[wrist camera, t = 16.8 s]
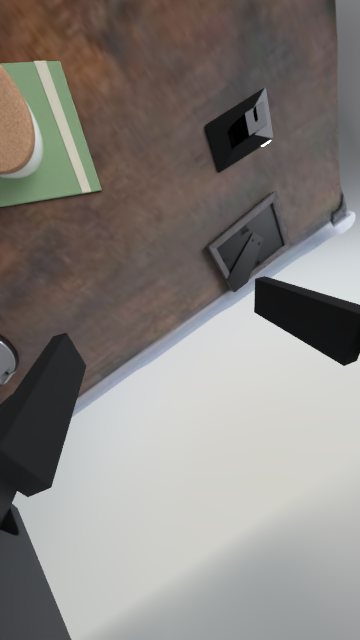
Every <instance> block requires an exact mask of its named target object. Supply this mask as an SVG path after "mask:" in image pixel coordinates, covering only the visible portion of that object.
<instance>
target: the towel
mask: <svg viewBox="0 0 360 640" xmlns="http://www.w3.org/2000/svg"><path fill="white" fill-rule="evenodd" d="M1 65H2V67H3V68H4V69H5V70H6V72H7V73H8V74H9V76H10V77H11V78H12V80H13V81H14V82H15V84H16V86H17V87H18V89H19V90H20V92H21V94H22V95H23V97H24V99H25V100H26V102H27V103H28V105H29V107H30V109H31V111H32V113H33V115H34V117H35V119H36V121H37V123H38V126H39V129H40V132H41V136H42V140H43V157H42V161H41V164H40V166H39V167H38V169H37V170H36V171H35V172H34V173H33V174H31V175H29V176H27V177H24V178H16V179H11V178H3V177H0V207H6V206H12V205H18V204H24V203H30V202H36V201H42V200H48V199H54V198H60V197H66V196H72V195H78V194H84V193H90V192H96V191H102V189H101V186H100V183H99V180H98V177H97V174H96V171H95V168H94V165H93V162H92V158H91V155H90V152H89V149H88V146H87V143H86V140H85V137H84V134H83V131H82V128H81V125H80V122H79V118H78V115H77V112H76V109H75V106H74V103H73V100H72V97H71V94H70V91H69V88H68V85H67V82H66V78H65V75H64V72H63V69H62V66H61V63H60V61H34V62H23V63H1Z"/></svg>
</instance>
